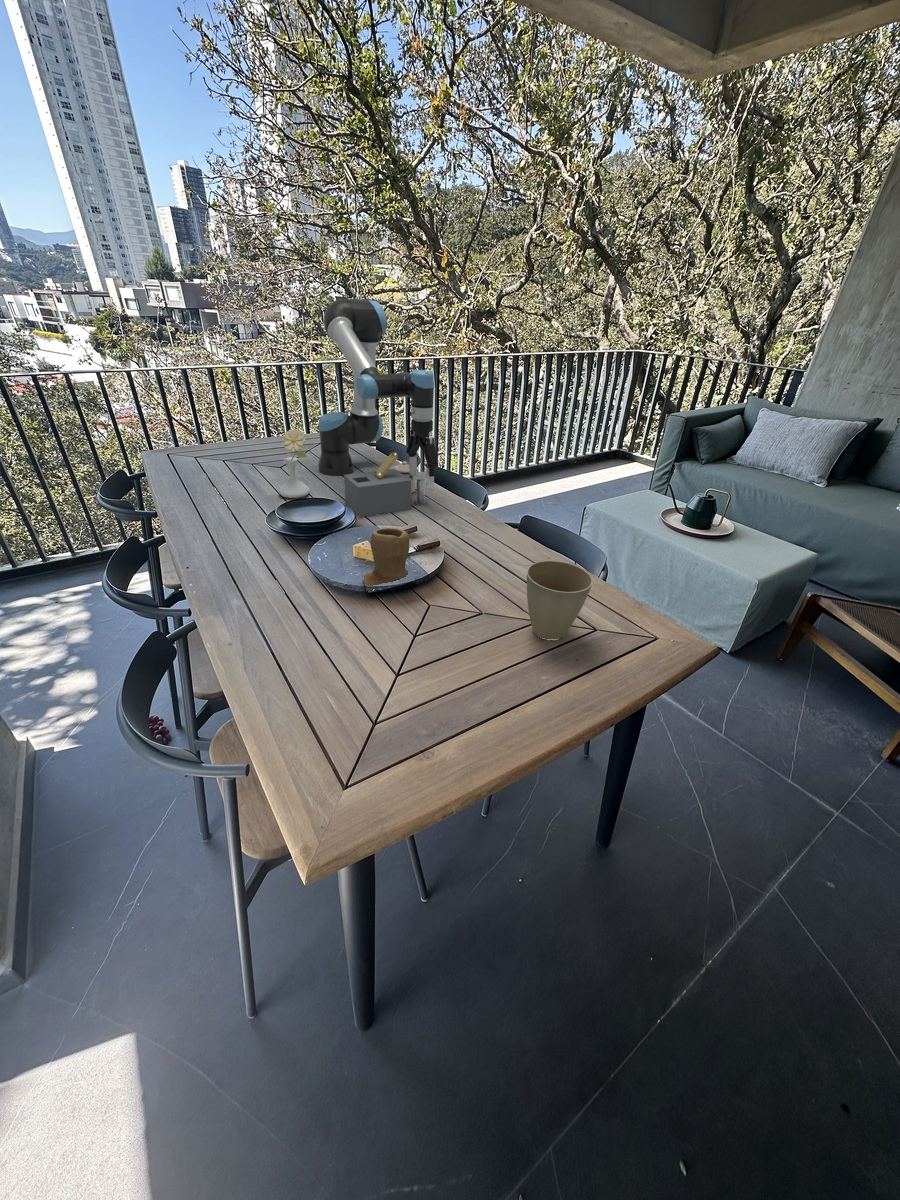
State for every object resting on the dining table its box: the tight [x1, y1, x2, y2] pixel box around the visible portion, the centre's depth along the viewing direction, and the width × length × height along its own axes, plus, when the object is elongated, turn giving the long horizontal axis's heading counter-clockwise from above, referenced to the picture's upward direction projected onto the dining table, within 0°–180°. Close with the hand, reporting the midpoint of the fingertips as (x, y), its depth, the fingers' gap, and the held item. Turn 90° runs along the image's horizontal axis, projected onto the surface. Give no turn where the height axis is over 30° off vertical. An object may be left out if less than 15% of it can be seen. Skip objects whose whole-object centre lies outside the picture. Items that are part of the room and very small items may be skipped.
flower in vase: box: [278, 428, 311, 499], centre depth 183 cm, size 13×11×25 cm
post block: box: [343, 468, 412, 518], centre depth 181 cm, size 14×20×11 cm
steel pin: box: [409, 470, 426, 506], centre depth 186 cm, size 3×8×12 cm, turn 120°
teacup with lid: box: [392, 460, 416, 494], centre depth 196 cm, size 12×9×12 cm
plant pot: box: [526, 560, 594, 639], centre depth 117 cm, size 15×15×16 cm
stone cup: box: [363, 527, 410, 593], centre depth 134 cm, size 15×12×15 cm
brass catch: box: [374, 451, 399, 479], centre depth 178 cm, size 4×11×2 cm
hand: (421, 479), depth 184 cm, fingers open, 13 cm apart
